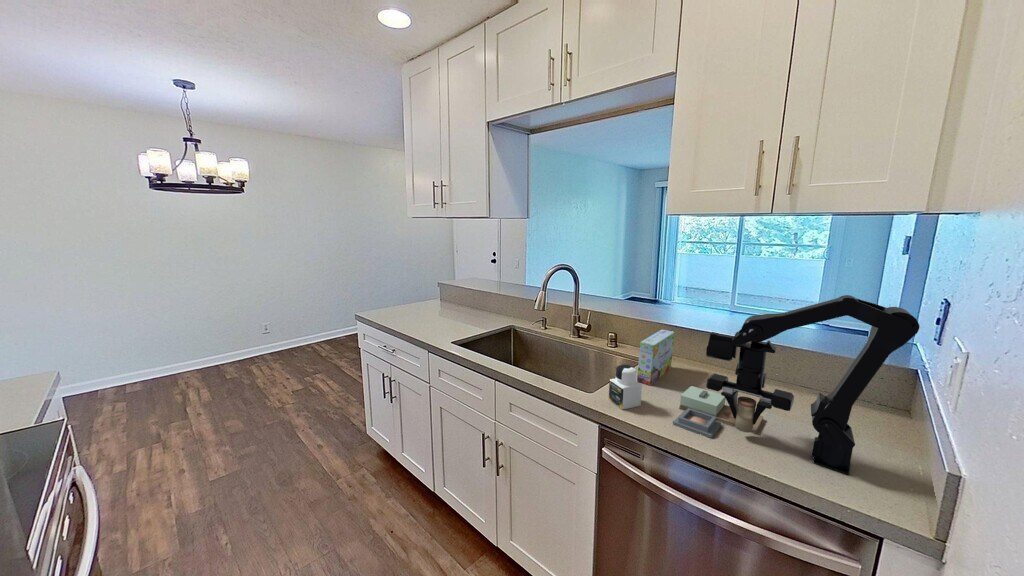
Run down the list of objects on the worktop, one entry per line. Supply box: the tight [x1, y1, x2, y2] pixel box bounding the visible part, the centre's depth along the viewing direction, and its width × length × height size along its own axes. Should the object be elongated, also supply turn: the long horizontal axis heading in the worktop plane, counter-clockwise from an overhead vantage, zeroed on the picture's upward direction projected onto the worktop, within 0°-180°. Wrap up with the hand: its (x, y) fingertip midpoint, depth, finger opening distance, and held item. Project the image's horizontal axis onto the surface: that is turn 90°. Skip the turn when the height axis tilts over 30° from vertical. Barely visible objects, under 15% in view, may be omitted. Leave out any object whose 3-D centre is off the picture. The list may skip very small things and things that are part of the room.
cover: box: [679, 385, 726, 416], centre depth 115 cm, size 10×9×4 cm
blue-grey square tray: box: [672, 408, 722, 439], centre depth 107 cm, size 10×9×2 cm
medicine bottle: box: [608, 364, 643, 411], centre depth 118 cm, size 7×7×12 cm
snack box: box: [636, 329, 676, 386], centre depth 140 cm, size 21×6×15 cm, turn 139°
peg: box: [734, 395, 757, 433], centre depth 100 cm, size 4×4×8 cm
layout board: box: [679, 404, 764, 435], centre depth 112 cm, size 20×10×1 cm, turn 47°
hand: (744, 421), depth 100 cm, fingers closed on peg, 4 cm apart
